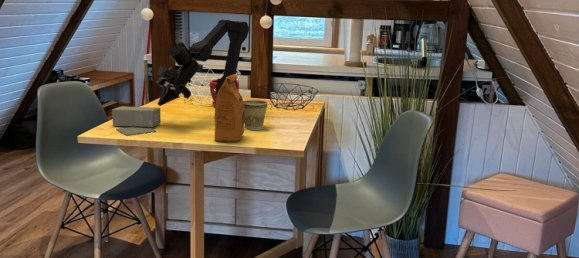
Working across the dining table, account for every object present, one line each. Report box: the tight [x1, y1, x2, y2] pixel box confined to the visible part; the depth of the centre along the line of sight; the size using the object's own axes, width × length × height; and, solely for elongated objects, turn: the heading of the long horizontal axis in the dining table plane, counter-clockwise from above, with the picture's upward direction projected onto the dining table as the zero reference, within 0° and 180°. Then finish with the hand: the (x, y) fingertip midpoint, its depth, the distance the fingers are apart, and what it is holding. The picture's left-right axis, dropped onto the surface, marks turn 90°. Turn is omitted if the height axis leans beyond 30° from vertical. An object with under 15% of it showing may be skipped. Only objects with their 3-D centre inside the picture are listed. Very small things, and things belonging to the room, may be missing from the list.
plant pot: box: [209, 79, 240, 107], centre depth 235 cm, size 13×13×12 cm
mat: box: [115, 126, 157, 137], centre depth 187 cm, size 11×10×1 cm
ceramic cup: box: [243, 99, 268, 131], centre depth 197 cm, size 13×10×10 cm
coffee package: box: [214, 74, 245, 142], centre depth 178 cm, size 10×12×22 cm
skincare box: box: [111, 105, 162, 128], centre depth 194 cm, size 8×7×16 cm
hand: (158, 105), depth 190 cm, fingers closed
